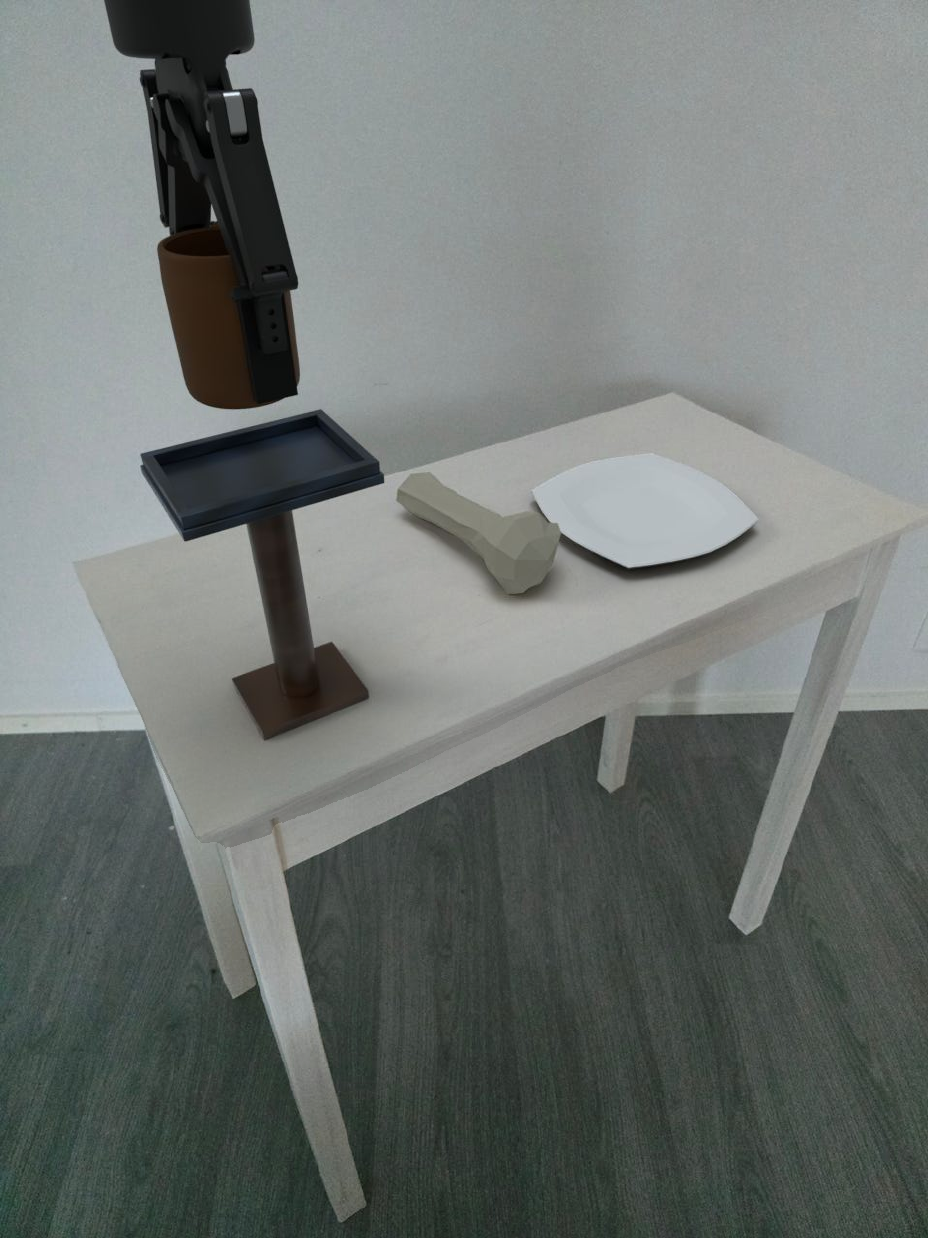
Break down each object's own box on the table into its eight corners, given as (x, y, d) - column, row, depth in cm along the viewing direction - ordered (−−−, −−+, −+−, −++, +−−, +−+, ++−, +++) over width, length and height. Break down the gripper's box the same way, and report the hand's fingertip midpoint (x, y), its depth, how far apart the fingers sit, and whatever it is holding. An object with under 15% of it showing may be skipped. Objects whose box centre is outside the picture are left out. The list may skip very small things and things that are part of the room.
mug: (191, 349, 62) (161, 211, 56) (294, 341, 63) (276, 205, 57) (185, 418, 53) (149, 262, 47) (306, 406, 54) (286, 253, 48)
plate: (505, 500, 102) (505, 486, 101) (652, 455, 111) (654, 441, 110) (622, 598, 87) (624, 583, 85) (783, 536, 96) (787, 522, 94)
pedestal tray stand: (242, 763, 69) (178, 519, 55) (201, 686, 77) (136, 452, 62) (401, 697, 75) (383, 461, 61) (349, 631, 83) (322, 406, 68)
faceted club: (507, 612, 83) (369, 520, 100) (565, 599, 89) (425, 514, 105) (525, 530, 80) (379, 448, 96) (585, 522, 85) (437, 446, 101)
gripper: (331, -38, 37) (369, 417, 51) (176, -39, 53) (237, 307, 67) (163, -35, 34) (251, 447, 48) (53, -37, 50) (142, 324, 64)
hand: (243, 366), depth 57 cm, fingers closed on mug, 12 cm apart
